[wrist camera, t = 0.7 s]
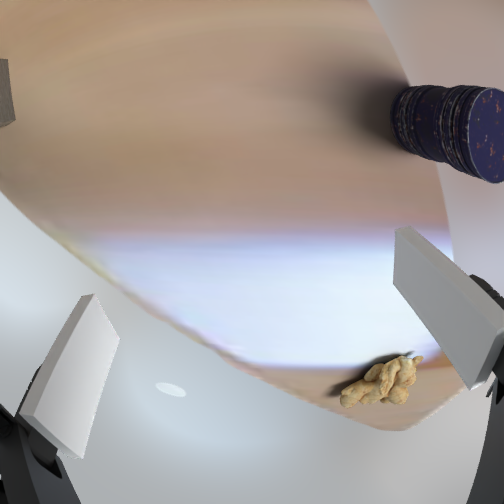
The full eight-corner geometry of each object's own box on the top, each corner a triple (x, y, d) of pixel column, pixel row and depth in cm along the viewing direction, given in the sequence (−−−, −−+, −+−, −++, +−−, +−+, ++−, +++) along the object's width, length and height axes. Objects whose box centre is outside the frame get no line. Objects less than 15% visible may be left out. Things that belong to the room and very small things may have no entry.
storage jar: (383, 146, 34) (458, 172, 21) (393, 76, 30) (472, 70, 17) (439, 162, 35) (513, 193, 22) (449, 98, 31) (527, 108, 18)
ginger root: (432, 355, 52) (442, 387, 45) (379, 389, 61) (384, 419, 54) (389, 335, 48) (398, 373, 42) (331, 375, 57) (334, 410, 50)
